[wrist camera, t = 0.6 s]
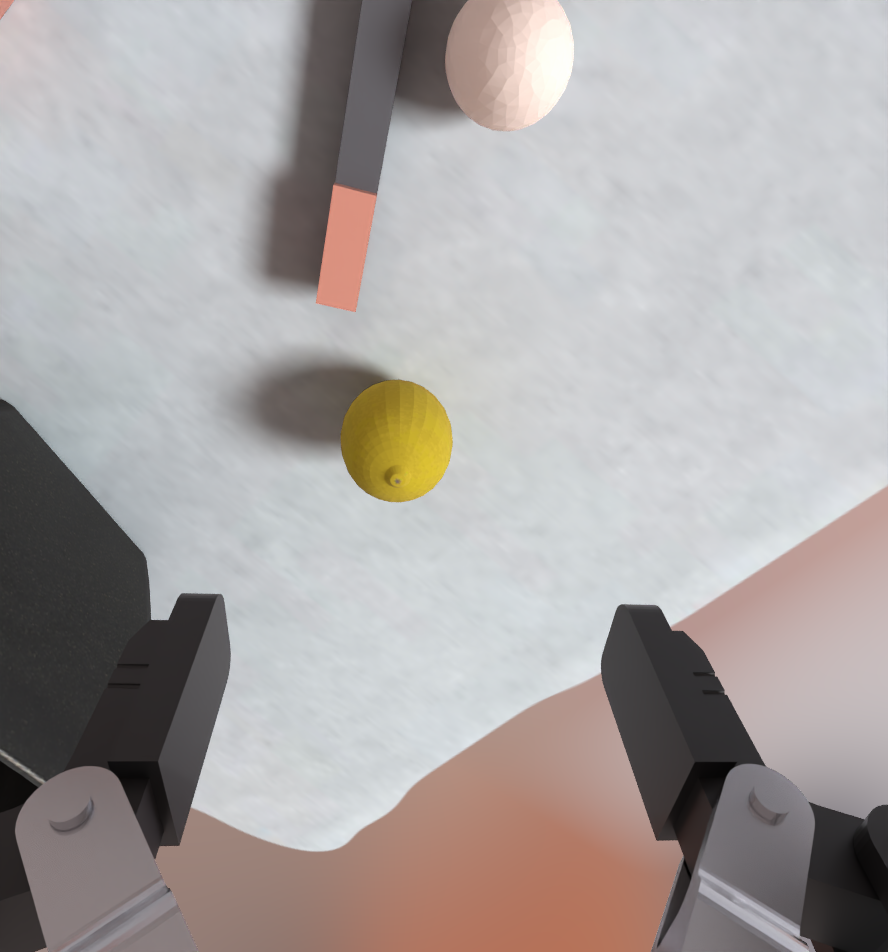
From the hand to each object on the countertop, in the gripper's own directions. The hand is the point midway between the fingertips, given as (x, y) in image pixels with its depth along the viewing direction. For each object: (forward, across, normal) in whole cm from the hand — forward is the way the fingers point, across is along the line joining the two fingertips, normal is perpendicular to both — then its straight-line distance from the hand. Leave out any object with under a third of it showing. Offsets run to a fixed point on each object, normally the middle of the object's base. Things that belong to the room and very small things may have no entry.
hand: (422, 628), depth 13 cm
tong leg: (+22, +2, -11) cm, 25 cm away
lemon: (+22, 0, +6) cm, 23 cm away
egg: (+23, -3, -11) cm, 25 cm away
